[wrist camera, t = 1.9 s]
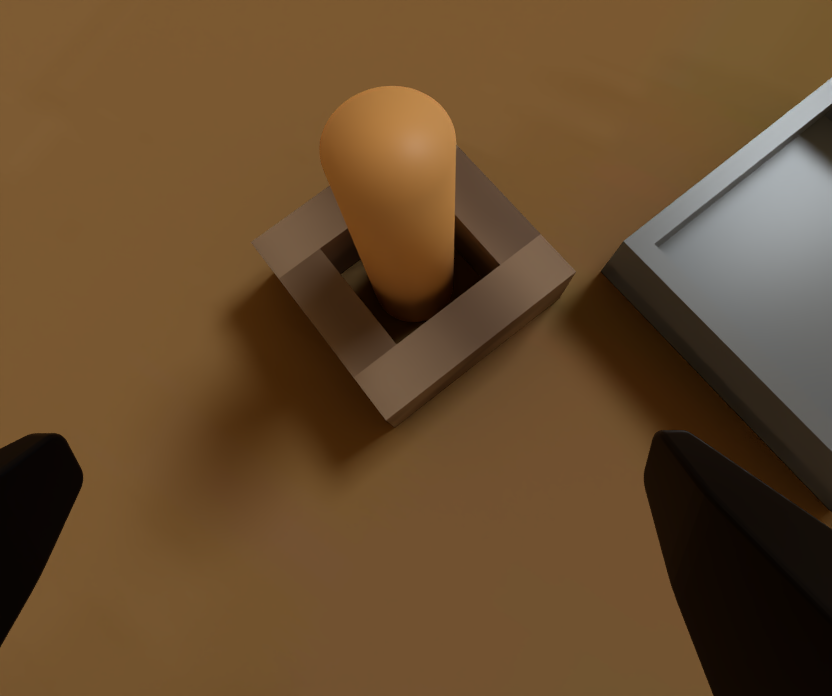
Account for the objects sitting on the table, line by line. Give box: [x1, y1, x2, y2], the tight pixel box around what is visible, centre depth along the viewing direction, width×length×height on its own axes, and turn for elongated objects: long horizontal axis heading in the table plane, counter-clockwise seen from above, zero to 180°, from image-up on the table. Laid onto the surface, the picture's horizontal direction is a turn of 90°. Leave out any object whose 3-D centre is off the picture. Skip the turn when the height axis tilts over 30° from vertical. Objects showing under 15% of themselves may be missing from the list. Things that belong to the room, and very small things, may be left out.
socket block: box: [251, 145, 576, 427], centre depth 21 cm, size 9×9×3 cm
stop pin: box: [320, 86, 456, 322], centre depth 18 cm, size 4×4×10 cm
